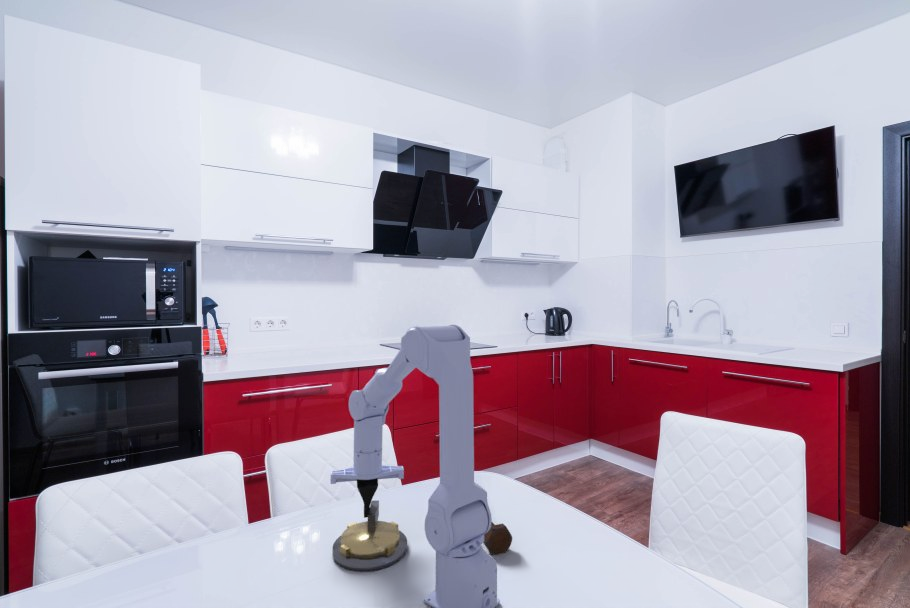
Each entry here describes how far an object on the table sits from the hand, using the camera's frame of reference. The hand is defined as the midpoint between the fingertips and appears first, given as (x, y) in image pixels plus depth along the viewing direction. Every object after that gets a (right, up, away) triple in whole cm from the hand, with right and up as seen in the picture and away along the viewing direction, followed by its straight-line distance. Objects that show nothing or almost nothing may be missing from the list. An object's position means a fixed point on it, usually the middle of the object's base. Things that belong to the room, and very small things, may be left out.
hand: (367, 515), depth 91 cm
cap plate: (+2, -4, -6) cm, 7 cm away
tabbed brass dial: (+2, -3, -6) cm, 6 cm away
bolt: (+24, -5, 0) cm, 24 cm away
